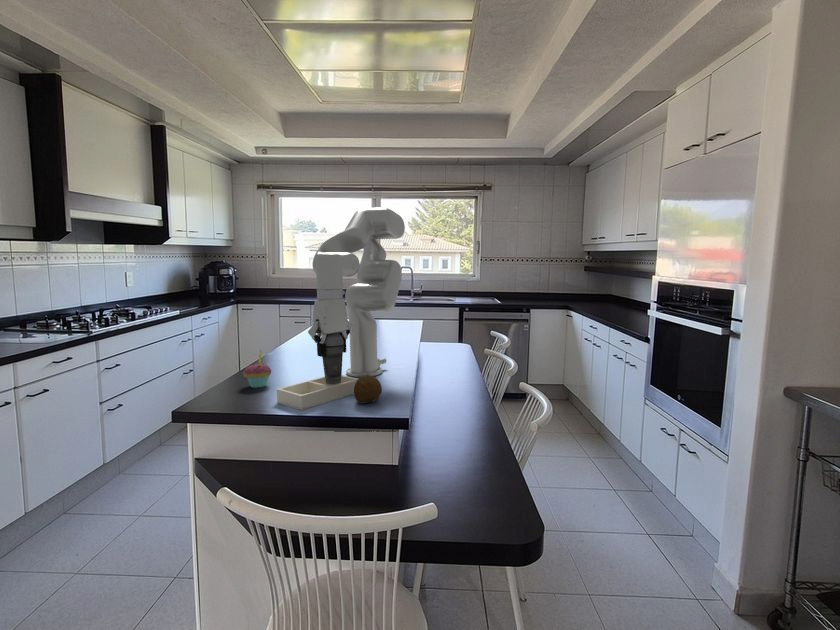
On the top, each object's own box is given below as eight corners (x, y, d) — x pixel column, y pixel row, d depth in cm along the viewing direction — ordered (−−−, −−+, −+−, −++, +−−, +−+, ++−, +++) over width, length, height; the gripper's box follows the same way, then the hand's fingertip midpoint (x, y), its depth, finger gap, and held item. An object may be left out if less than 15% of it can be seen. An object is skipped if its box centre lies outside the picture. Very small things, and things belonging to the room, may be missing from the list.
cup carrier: (335, 385, 151) (334, 373, 151) (359, 391, 144) (359, 379, 144) (277, 402, 134) (276, 389, 134) (301, 410, 127) (301, 396, 127)
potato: (376, 394, 141) (376, 369, 140) (387, 406, 130) (387, 379, 129) (349, 397, 139) (348, 371, 138) (358, 410, 127) (357, 382, 126)
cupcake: (277, 383, 154) (275, 347, 153) (258, 390, 147) (256, 352, 145) (257, 381, 158) (255, 345, 156) (237, 387, 150) (235, 350, 149)
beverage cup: (340, 386, 139) (338, 318, 136) (317, 385, 140) (314, 318, 137) (349, 379, 146) (346, 315, 143) (326, 378, 147) (324, 315, 145)
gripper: (343, 292, 149) (345, 348, 151) (297, 296, 135) (300, 357, 137) (360, 293, 144) (361, 350, 146) (314, 298, 130) (317, 361, 133)
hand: (332, 353), depth 142 cm, fingers closed on beverage cup, 7 cm apart
